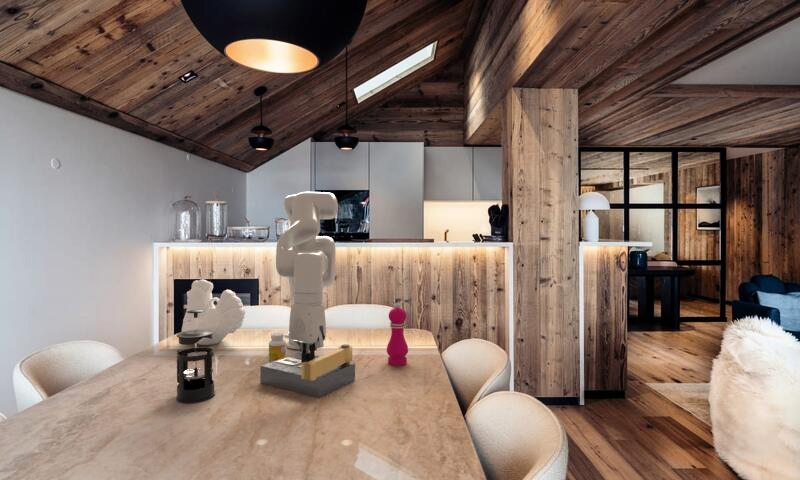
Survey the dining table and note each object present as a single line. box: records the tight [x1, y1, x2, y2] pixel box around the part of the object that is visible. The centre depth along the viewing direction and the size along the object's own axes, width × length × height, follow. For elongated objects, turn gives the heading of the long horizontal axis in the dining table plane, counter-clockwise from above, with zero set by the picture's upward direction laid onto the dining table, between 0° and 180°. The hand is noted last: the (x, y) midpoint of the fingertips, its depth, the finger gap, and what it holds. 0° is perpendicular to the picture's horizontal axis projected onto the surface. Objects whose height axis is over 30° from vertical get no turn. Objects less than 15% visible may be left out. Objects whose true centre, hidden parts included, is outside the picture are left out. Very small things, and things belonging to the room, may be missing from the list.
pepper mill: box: [386, 302, 409, 367], centre depth 145 cm, size 7×7×20 cm
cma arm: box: [302, 343, 353, 381], centre depth 120 cm, size 20×4×5 cm, turn 155°
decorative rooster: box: [181, 278, 246, 346], centre depth 167 cm, size 25×16×25 cm, turn 65°
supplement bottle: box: [268, 332, 287, 363], centre depth 144 cm, size 5×5×10 cm
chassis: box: [259, 352, 356, 399], centre depth 127 cm, size 22×16×5 cm
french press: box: [175, 309, 216, 404], centre depth 115 cm, size 12×9×23 cm
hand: (308, 366), depth 116 cm, fingers closed
